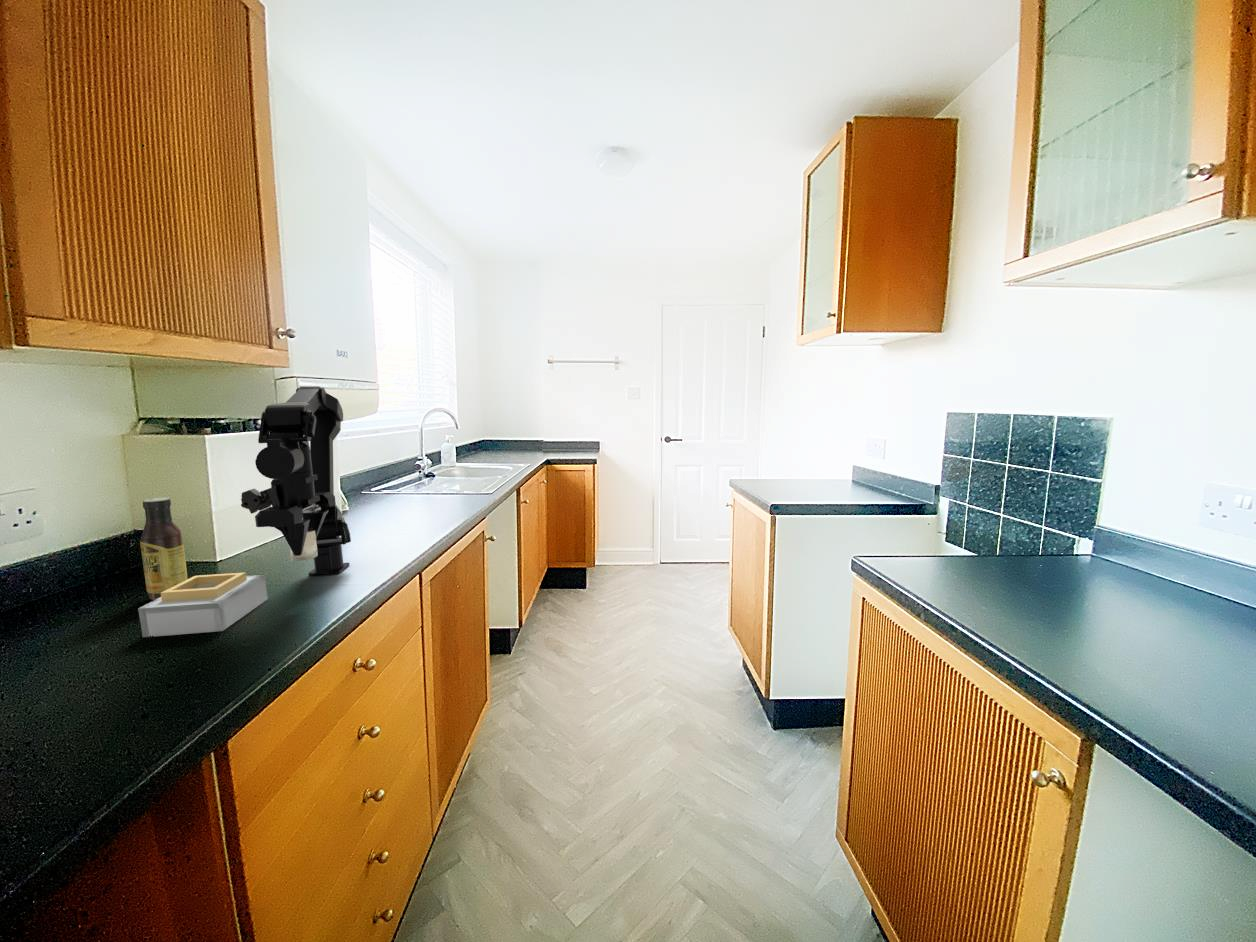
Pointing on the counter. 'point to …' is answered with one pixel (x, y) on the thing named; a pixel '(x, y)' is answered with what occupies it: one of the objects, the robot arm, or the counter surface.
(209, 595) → the square frame box
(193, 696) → the counter surface
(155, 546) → the sauce bottle
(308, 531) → the silver metal can
